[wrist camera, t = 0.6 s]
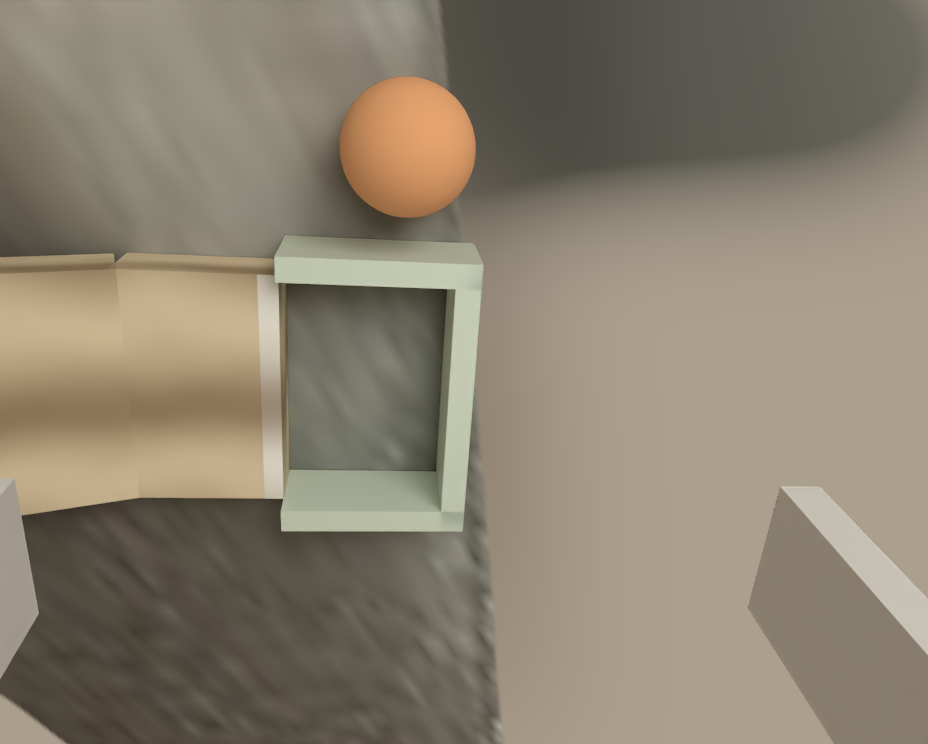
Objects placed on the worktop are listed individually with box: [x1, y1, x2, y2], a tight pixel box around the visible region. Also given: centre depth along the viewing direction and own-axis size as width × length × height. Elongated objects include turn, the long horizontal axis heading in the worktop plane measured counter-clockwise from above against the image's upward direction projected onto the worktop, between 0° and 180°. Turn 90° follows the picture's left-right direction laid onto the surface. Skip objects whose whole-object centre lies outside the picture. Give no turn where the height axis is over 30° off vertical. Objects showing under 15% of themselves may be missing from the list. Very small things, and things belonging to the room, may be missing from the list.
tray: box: [274, 235, 483, 531], centre depth 33 cm, size 12×8×4 cm, turn 176°
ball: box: [339, 77, 476, 218], centre depth 29 cm, size 5×5×5 cm
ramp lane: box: [0, 253, 290, 515], centre depth 31 cm, size 10×14×5 cm
